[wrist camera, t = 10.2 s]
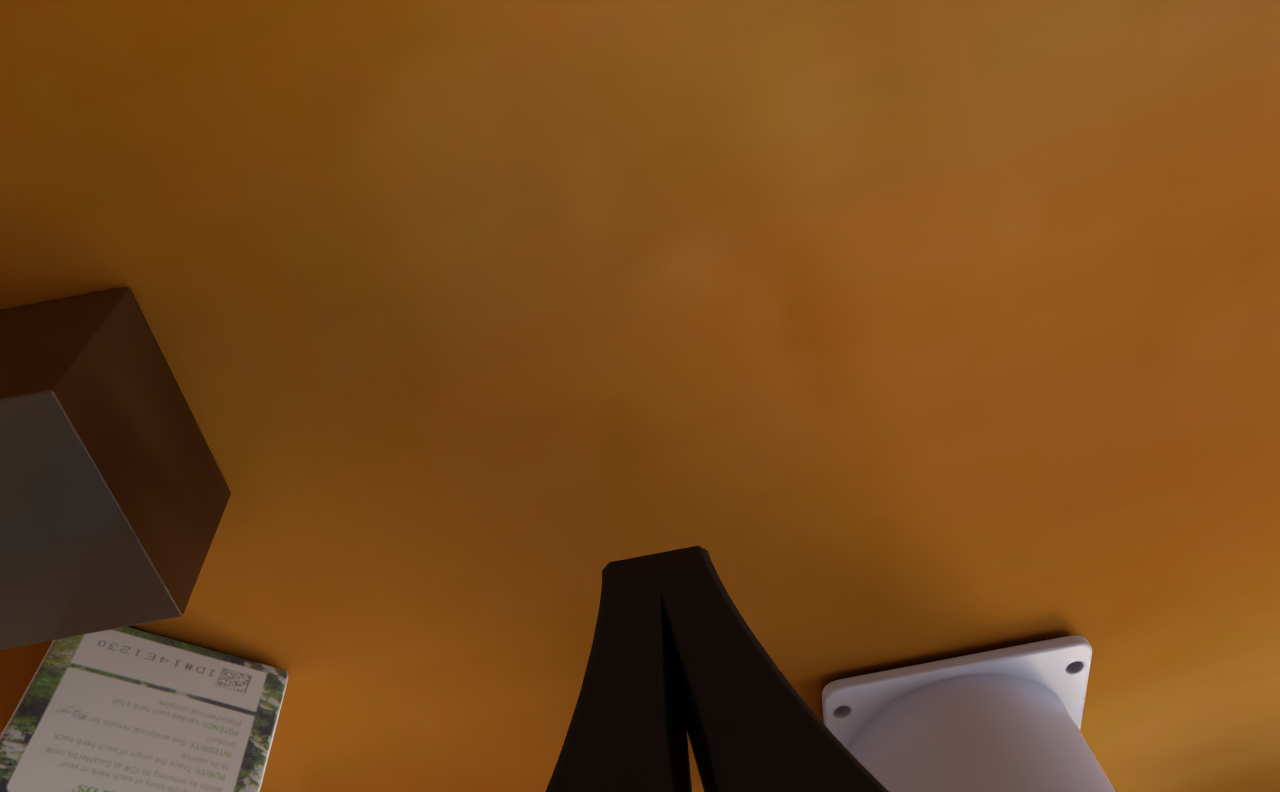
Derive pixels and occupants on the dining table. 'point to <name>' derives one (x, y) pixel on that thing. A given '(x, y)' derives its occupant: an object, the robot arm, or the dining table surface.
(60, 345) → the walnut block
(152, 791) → the syrup box
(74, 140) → the dining table surface
